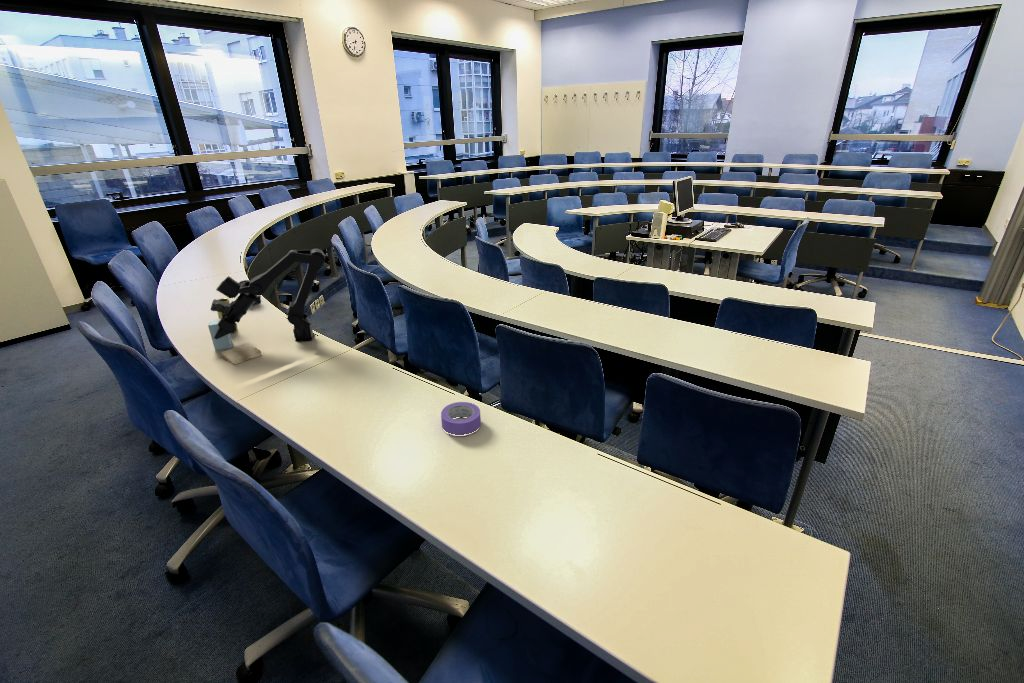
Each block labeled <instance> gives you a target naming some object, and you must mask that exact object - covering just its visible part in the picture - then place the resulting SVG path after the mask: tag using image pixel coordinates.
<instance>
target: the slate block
mask: <svg viewBox="0 0 1024 683" xmlns="http://www.w3.org/2000/svg"><path fill="white" fill-rule="evenodd" d="M219 321H220V319H219V318H218V319H211V320H209V322H208V325H207V328H208V330H209V333H210V337H211V340H212V345H213V347H214V351H220V350H230V349H232V346H233V339H232V334H231V333H230V334H227V335H225V336H223V337H221V338H219V339H215V338H214V337H215V335H216V333H217V331H218V329H219V326H218V322H219Z"/></svg>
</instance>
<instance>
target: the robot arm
mask: <svg viewBox="0 0 1024 683" xmlns="http://www.w3.org/2000/svg"><path fill="white" fill-rule="evenodd" d="M325 261H326V257H325V253H324V251H323V250H322V249H321V248H313V249H291V250H289V251H288V252H287V254H285V255H284V256H283V257H282V258H281V259H279V260H278V261H277V262H276V263H274V265H272V266H271V267H270V268H268V269H267V270H266V271H265V272H263V273H261V274H258V275H256V276H254V277H253V278H251V279H250V280H251V281H248V282H243V283H241V284H239V281H236V280H235V279H233V278H232V277H231V276H227V277H225V279H223V280H222V281H221V282H220V283H219V284H218V286H217V288H216V289H215V290H216V292H219V293H220V294H222V295H224V296H226V297H227V298H228V299H233V298H234V299H235V300H232V301H230V303H227V302H224V301H220V300H217V299H215V298H214V299H213V300H212V303H211V307H210V311H211V312H217V313H218V312H221V313H222V318H221V319H220V321H219V322H218V326H219V329H218V331H217V333H216V335H215V337H214V338H215V339H219V338H221V337H223V336H225V335H227V334H230V335H231V334H235V333H236V332H237V331H238V330H237V329H238V324H237V323H240V322H241V319H242V318H243V317H244V316H246V314H247V312H248V310H249V309H250V308H251V307H253V306H252V305H253V303H254V302H257V303H259V304H258V305H261V304H262V298H261V297H262V295H264V293H265V292H266V291H267V289H269V287H270V286H271V285H272V283H273V282H274V280H275V279H277V278H278V277H279V276H281V274H283V273H284V272H285V271H286V270H288V268H290V267H291V266H292V265H293V264H294V263H301V264H302V263H303V264H306V265H307V266H306V267H307V268H306V272H305V274H304V277H303V280H302V283H301V286H300V287H299V291H298V293H297V296H296V298H295V300H294V301H293V302H292V301H289V305H288V308H287V309H286V315H285V316H287V321H288V323H289V324H291V325H293V330H292V331H293V336H294V339H295V340H294V342H311V341H313V339H314V337H315V334H316V333H314V332H313V326H312V323H311V322H310V315H309V314H307V313H305V307H306V303H307V300H308V298H309V295H310V292H311V290H312V287H313V285H314V281H315V279H316V277H317V274H318V272H319V271H320V270H321V269H322V267H323V266H324V265H325ZM240 292H241V294H239V293H240ZM256 295H257V296H256ZM236 330H237V331H236ZM235 331H236V332H235Z"/></svg>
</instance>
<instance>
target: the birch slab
mask: <svg viewBox="0 0 1024 683" xmlns="http://www.w3.org/2000/svg"><path fill="white" fill-rule="evenodd" d="M262 355H263V354H262V351H261V350H260V349H259V348H257V347H255V346H253V345H252V344H250V343H246V344H243V345H240V346H237V347H233V348H229V349H226V350H225V351H221V357H222V356H223V358H225V359H227V360H228V361H227V362H230V363H232V364H233V365H238V364H240V363H243V362H246V361H249V360H252V359H254V358H257V357H261V356H262Z"/></svg>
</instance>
